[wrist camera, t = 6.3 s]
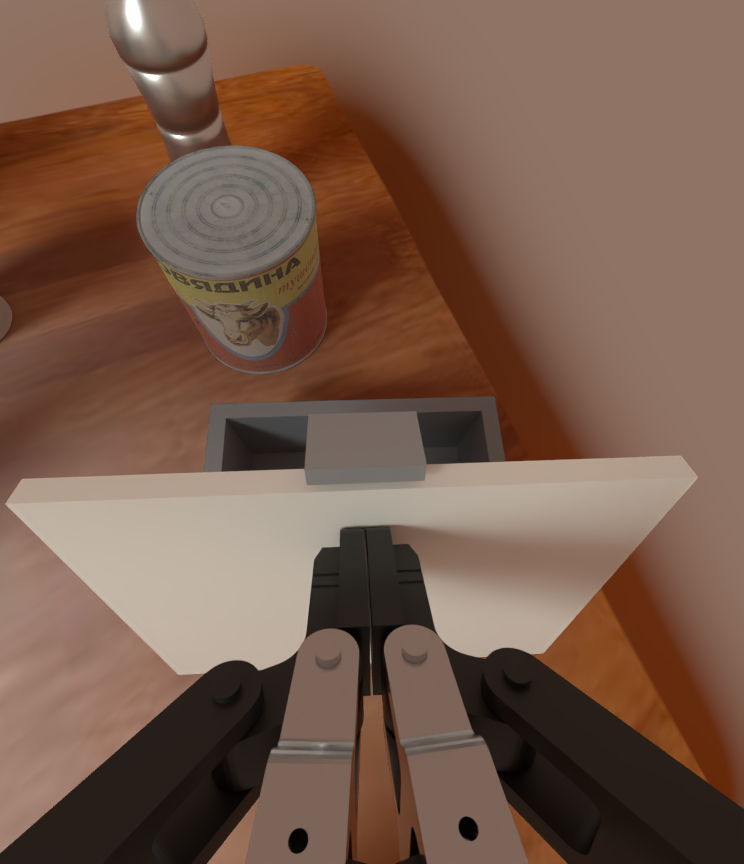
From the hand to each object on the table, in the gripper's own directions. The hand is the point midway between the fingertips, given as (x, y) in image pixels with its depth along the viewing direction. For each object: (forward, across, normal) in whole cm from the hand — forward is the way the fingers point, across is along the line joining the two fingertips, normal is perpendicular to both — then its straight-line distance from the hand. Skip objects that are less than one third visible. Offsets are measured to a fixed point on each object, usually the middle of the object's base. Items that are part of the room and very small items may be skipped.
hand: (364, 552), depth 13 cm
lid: (+4, 0, +3) cm, 5 cm away
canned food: (+30, +8, -2) cm, 31 cm away
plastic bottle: (+39, +13, -12) cm, 43 cm away
